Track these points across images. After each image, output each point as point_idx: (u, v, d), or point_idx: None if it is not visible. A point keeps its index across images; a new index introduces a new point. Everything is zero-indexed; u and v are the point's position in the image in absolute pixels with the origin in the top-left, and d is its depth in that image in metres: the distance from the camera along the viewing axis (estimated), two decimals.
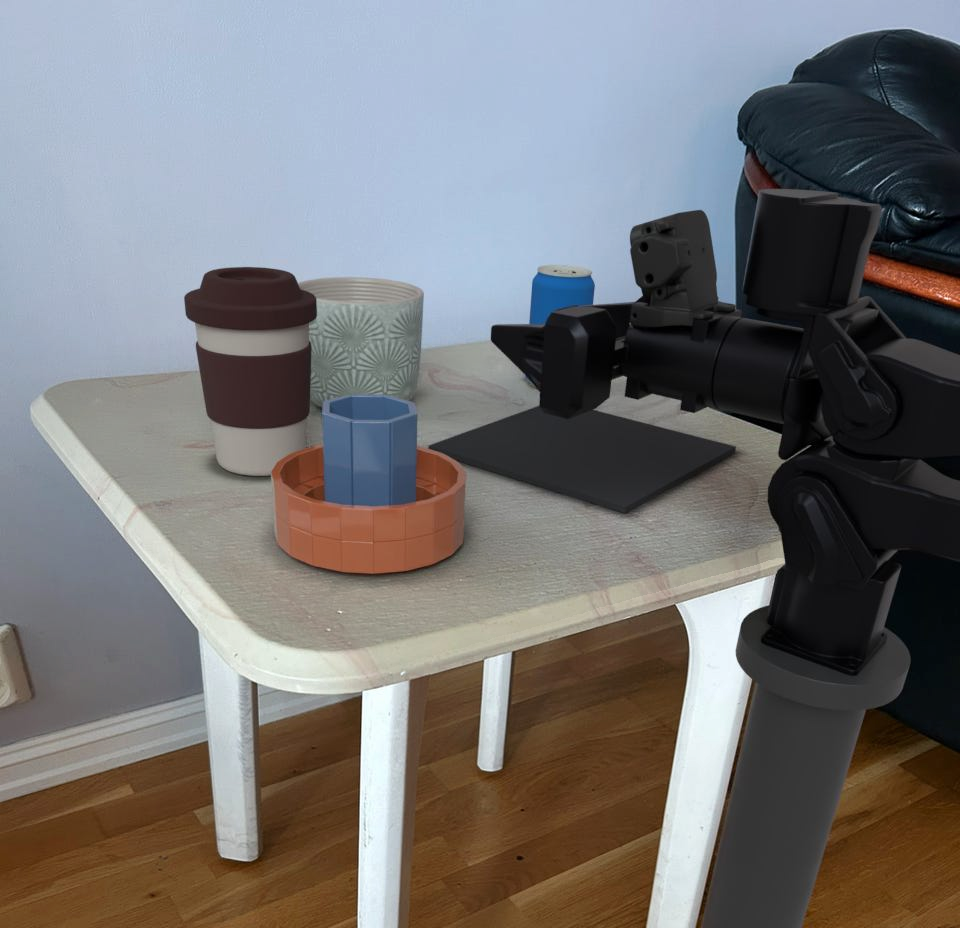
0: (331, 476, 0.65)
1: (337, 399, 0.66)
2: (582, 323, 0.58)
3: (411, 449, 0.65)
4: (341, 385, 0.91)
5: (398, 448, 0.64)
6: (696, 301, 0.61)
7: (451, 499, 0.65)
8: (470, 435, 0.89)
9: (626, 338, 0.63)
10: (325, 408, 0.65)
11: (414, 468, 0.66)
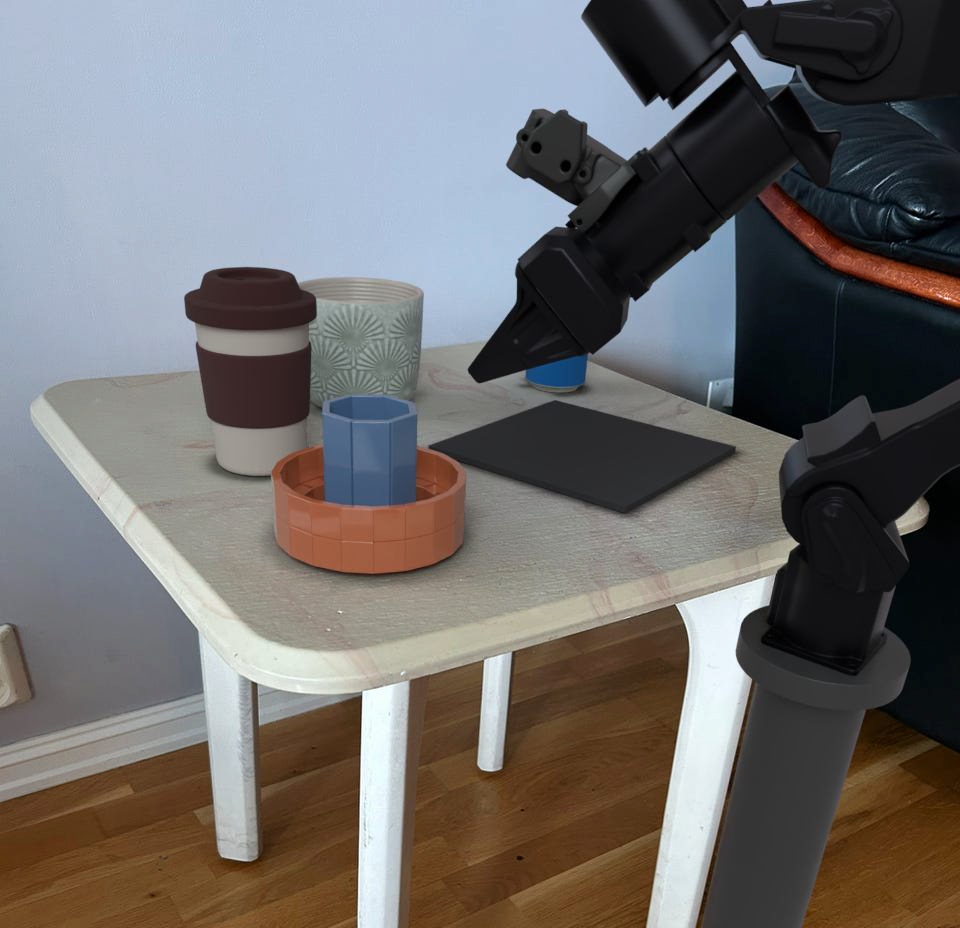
0: (331, 476, 0.65)
1: (337, 399, 0.66)
2: (553, 235, 0.49)
3: (411, 449, 0.65)
4: (341, 385, 0.91)
5: (398, 448, 0.64)
6: (616, 160, 0.54)
7: (451, 499, 0.65)
8: (470, 435, 0.89)
9: None
10: (325, 408, 0.65)
11: (414, 468, 0.66)
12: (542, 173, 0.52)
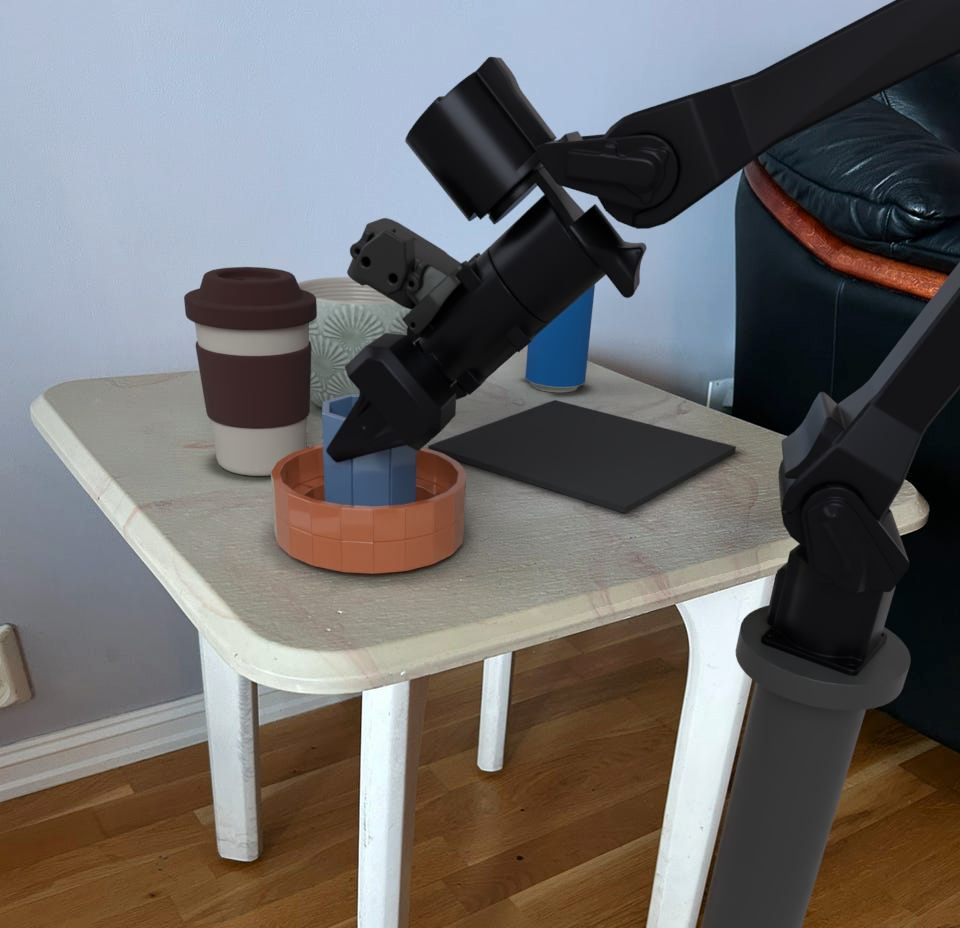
0: (331, 476, 0.65)
1: (336, 399, 0.66)
2: (375, 346, 0.54)
3: (411, 449, 0.65)
4: (341, 385, 0.91)
5: (398, 448, 0.64)
6: (446, 268, 0.59)
7: (451, 499, 0.65)
8: (470, 435, 0.89)
9: (425, 349, 0.60)
10: (325, 408, 0.65)
11: (414, 468, 0.66)
12: (373, 284, 0.57)
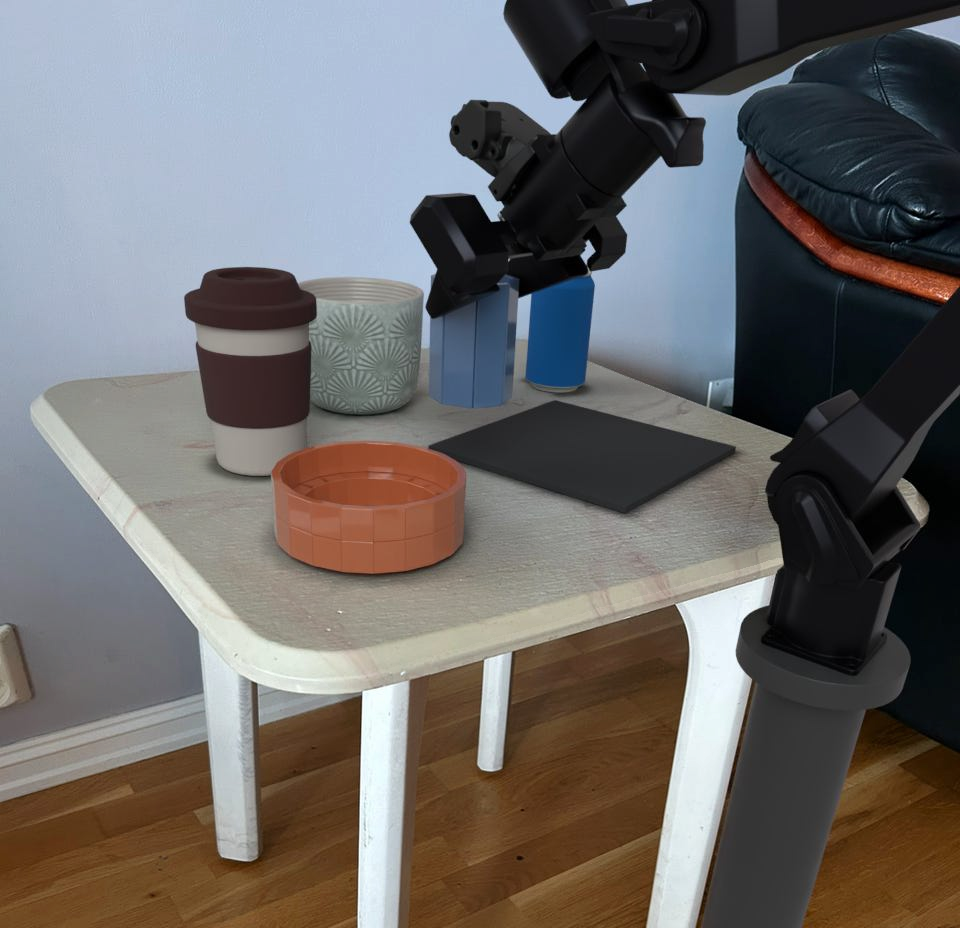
0: (432, 334, 0.75)
1: None
2: (433, 196, 0.63)
3: (501, 317, 0.72)
4: (341, 385, 0.91)
5: (485, 312, 0.72)
6: None
7: (451, 499, 0.65)
8: (470, 435, 0.89)
9: (504, 216, 0.67)
10: None
11: (504, 336, 0.73)
12: (460, 150, 0.65)
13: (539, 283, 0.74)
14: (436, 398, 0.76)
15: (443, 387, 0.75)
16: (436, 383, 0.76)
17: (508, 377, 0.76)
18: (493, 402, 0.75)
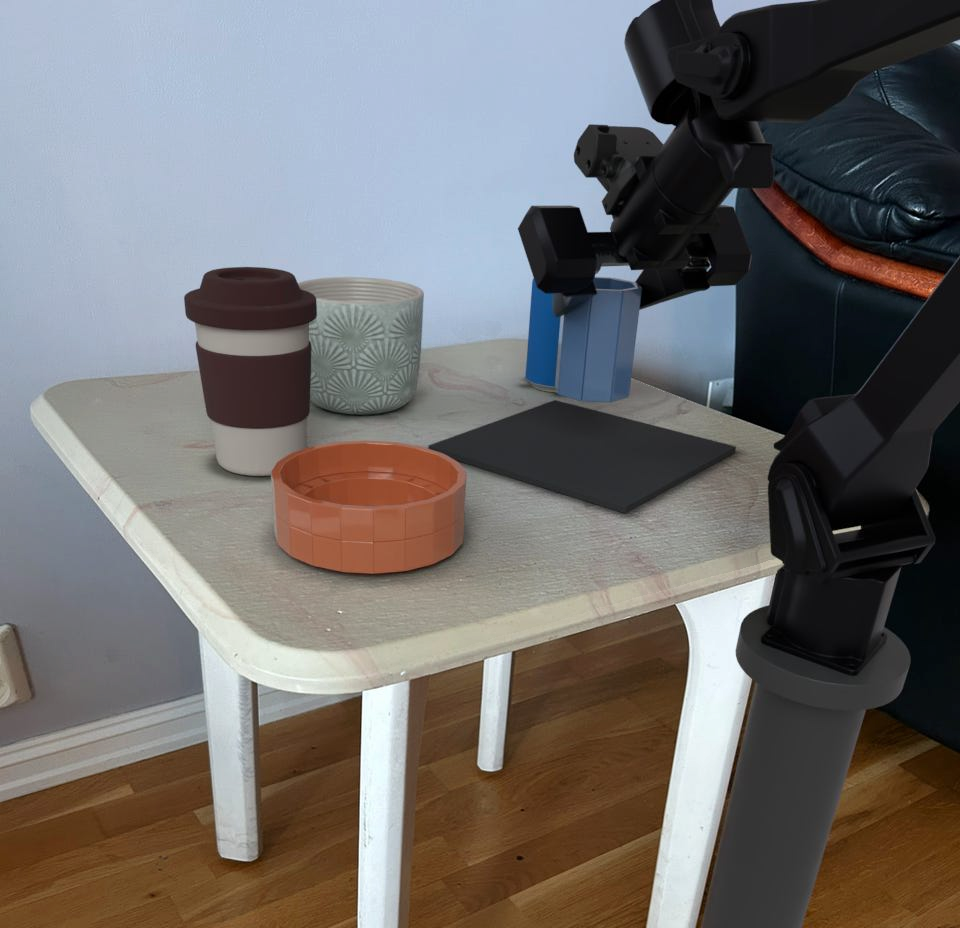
0: (560, 331, 0.83)
1: (595, 277, 0.83)
2: (536, 206, 0.72)
3: (613, 320, 0.80)
4: (341, 385, 0.91)
5: (598, 314, 0.79)
6: None
7: (451, 499, 0.65)
8: (470, 435, 0.89)
9: (611, 228, 0.74)
10: None
11: (616, 338, 0.80)
12: None
13: (661, 293, 0.80)
14: (556, 389, 0.85)
15: (560, 379, 0.84)
16: (557, 375, 0.84)
17: (622, 376, 0.83)
18: (602, 397, 0.83)
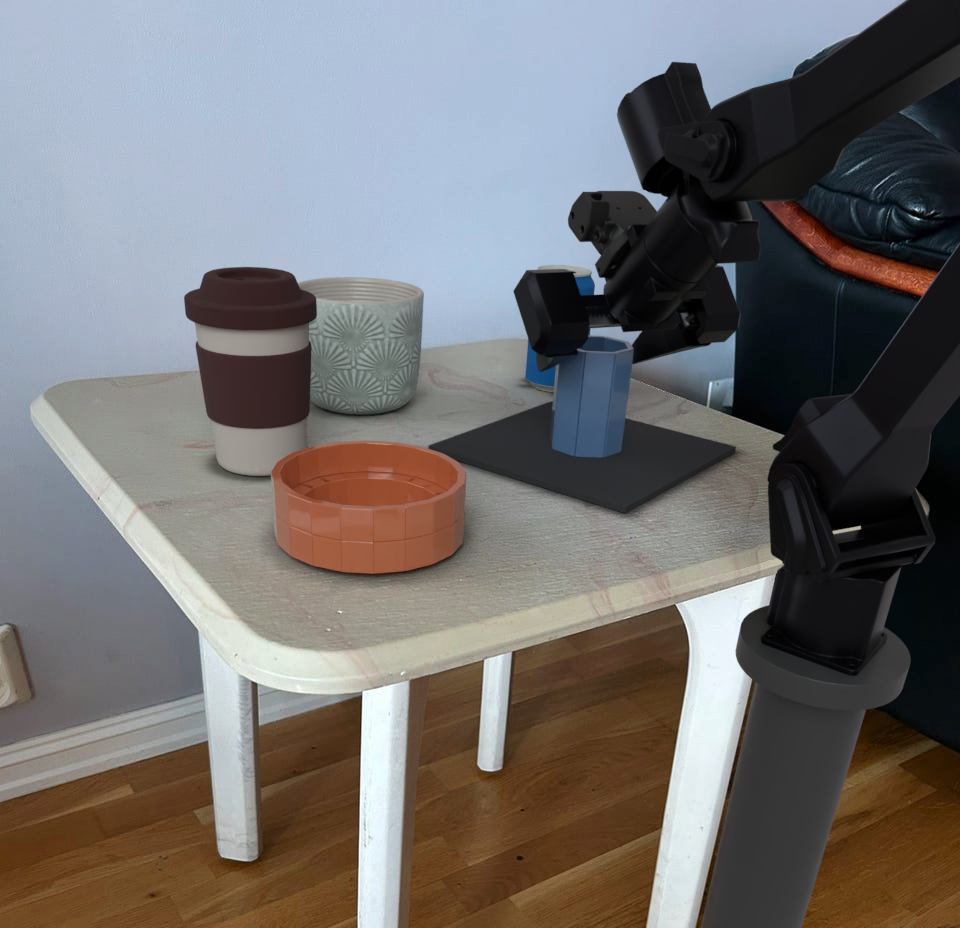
0: (554, 388, 0.86)
1: (589, 336, 0.86)
2: (531, 271, 0.74)
3: (606, 381, 0.82)
4: (341, 385, 0.91)
5: (591, 375, 0.82)
6: None
7: (451, 499, 0.65)
8: (470, 435, 0.89)
9: (604, 290, 0.76)
10: None
11: (608, 398, 0.83)
12: None
13: (664, 348, 0.83)
14: (551, 443, 0.87)
15: (554, 434, 0.86)
16: (552, 430, 0.87)
17: (614, 433, 0.85)
18: (594, 453, 0.85)
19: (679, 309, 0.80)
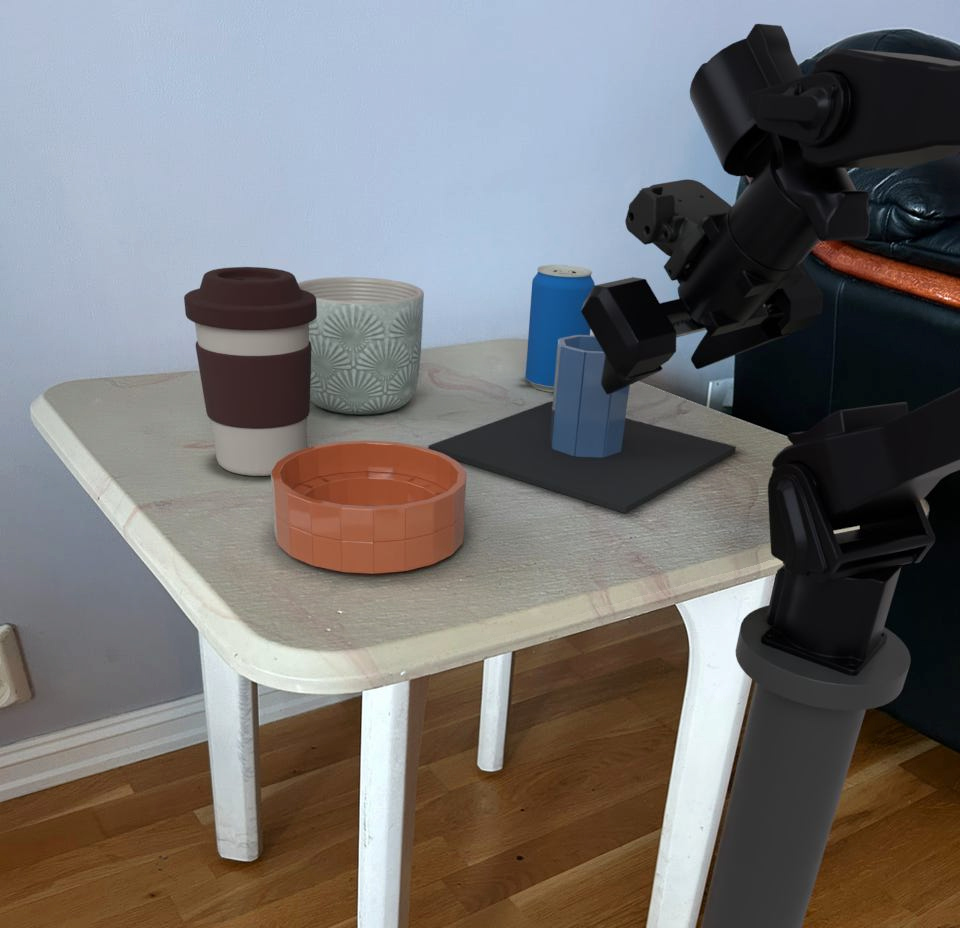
0: (554, 388, 0.86)
1: (589, 336, 0.86)
2: (601, 286, 0.65)
3: None
4: (341, 385, 0.91)
5: (591, 375, 0.82)
6: None
7: (451, 499, 0.65)
8: (470, 435, 0.89)
9: (679, 294, 0.68)
10: (567, 337, 0.85)
11: (608, 398, 0.83)
12: (635, 236, 0.67)
13: (740, 346, 0.75)
14: (551, 443, 0.87)
15: (554, 434, 0.86)
16: (552, 430, 0.87)
17: (614, 433, 0.85)
18: (594, 453, 0.85)
19: None
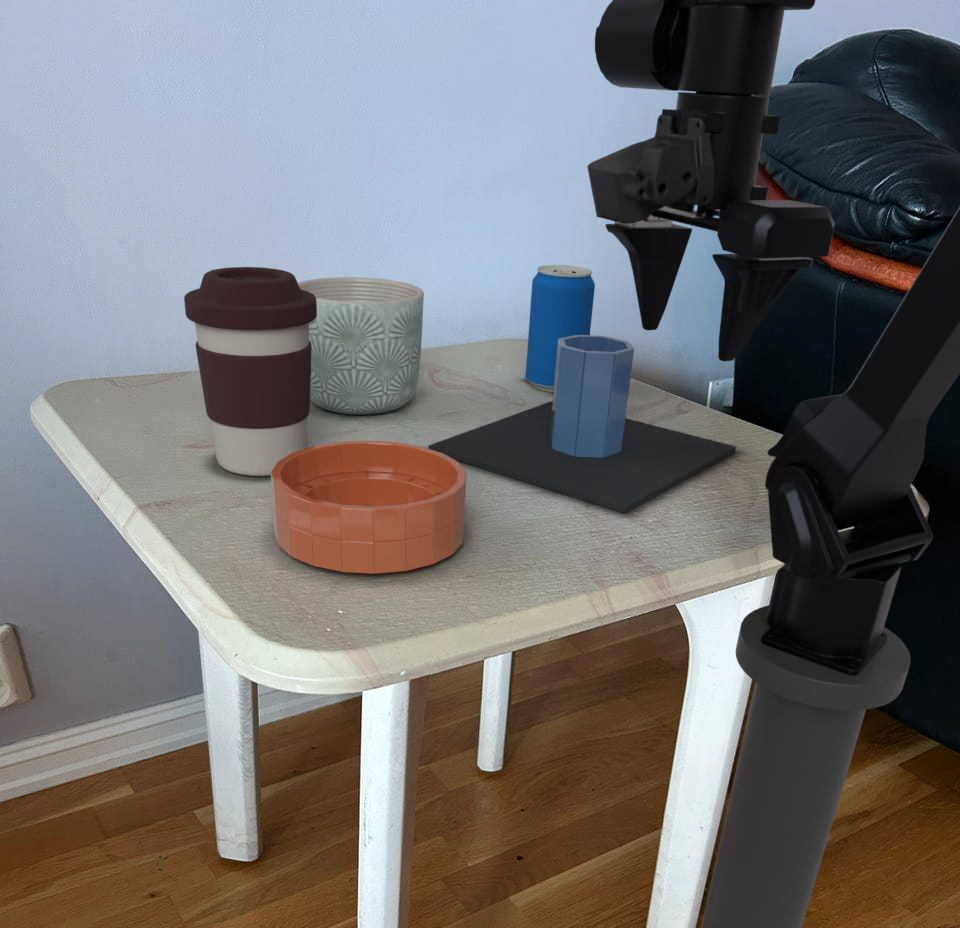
0: (554, 388, 0.86)
1: (589, 336, 0.86)
2: (758, 218, 0.58)
3: (606, 381, 0.82)
4: (341, 385, 0.91)
5: (591, 375, 0.82)
6: (680, 140, 0.61)
7: (451, 499, 0.65)
8: (470, 435, 0.89)
9: (720, 208, 0.63)
10: (567, 337, 0.85)
11: (608, 398, 0.83)
12: (677, 198, 0.60)
13: (676, 262, 0.72)
14: (551, 443, 0.87)
15: (554, 434, 0.86)
16: (552, 430, 0.87)
17: (614, 433, 0.85)
18: (594, 453, 0.85)
19: None
